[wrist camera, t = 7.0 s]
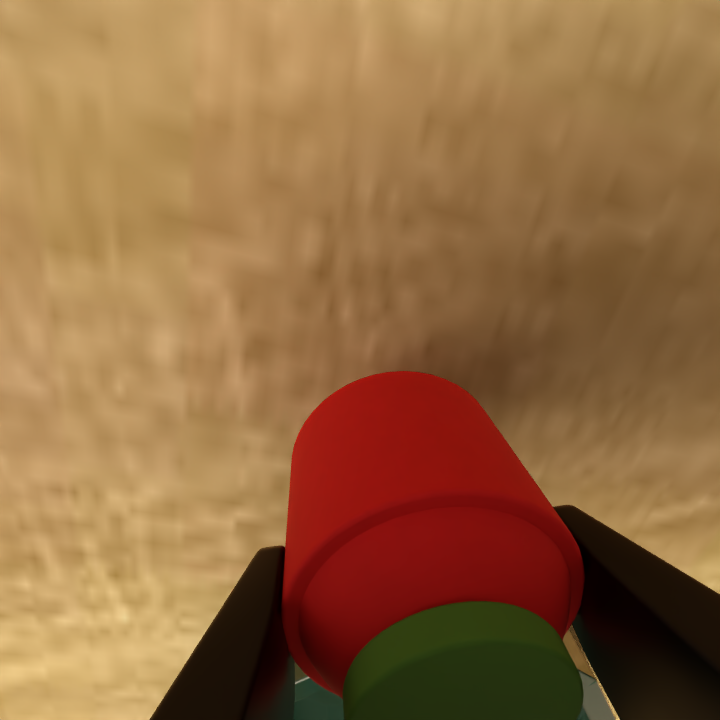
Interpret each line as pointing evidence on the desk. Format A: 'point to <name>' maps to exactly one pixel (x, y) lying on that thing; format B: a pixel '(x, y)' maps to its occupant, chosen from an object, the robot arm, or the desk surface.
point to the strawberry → (426, 561)
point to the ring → (325, 709)
